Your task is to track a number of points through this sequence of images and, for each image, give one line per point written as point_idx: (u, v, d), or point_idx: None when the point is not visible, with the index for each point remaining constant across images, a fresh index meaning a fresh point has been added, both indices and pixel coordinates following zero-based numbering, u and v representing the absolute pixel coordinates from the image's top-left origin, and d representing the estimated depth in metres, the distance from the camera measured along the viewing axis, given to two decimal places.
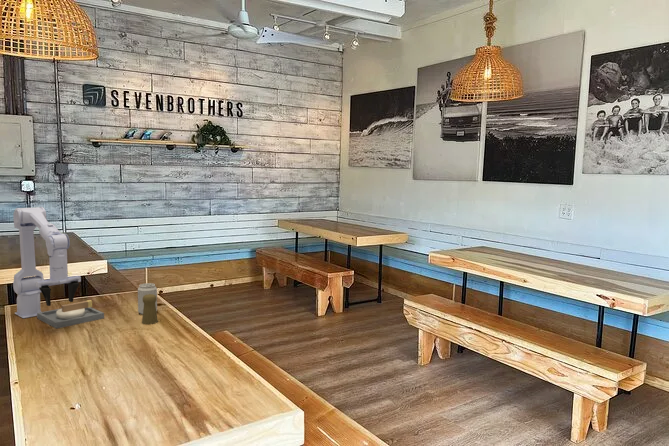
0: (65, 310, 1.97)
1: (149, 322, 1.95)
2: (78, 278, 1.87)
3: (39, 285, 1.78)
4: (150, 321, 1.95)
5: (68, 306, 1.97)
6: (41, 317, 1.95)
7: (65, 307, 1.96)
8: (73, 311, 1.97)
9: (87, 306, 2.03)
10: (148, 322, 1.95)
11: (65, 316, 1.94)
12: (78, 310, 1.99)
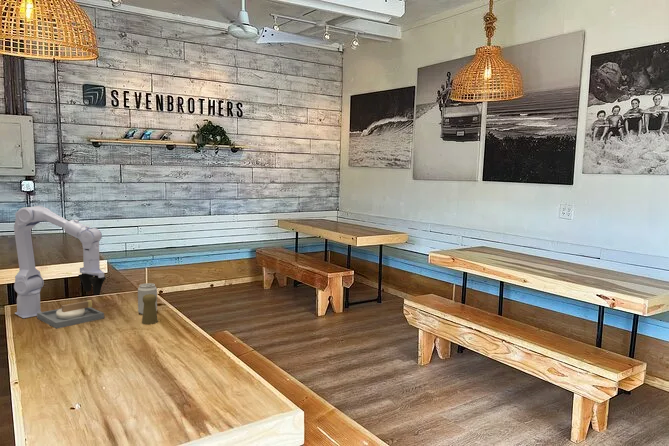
0: (65, 310, 1.97)
1: (149, 322, 1.95)
2: (98, 274, 1.93)
3: (80, 270, 2.01)
4: (150, 321, 1.95)
5: (68, 306, 1.97)
6: (41, 317, 1.95)
7: (65, 307, 1.96)
8: (73, 311, 1.97)
9: (87, 306, 2.03)
10: (148, 322, 1.95)
11: (65, 316, 1.94)
12: (78, 310, 1.99)
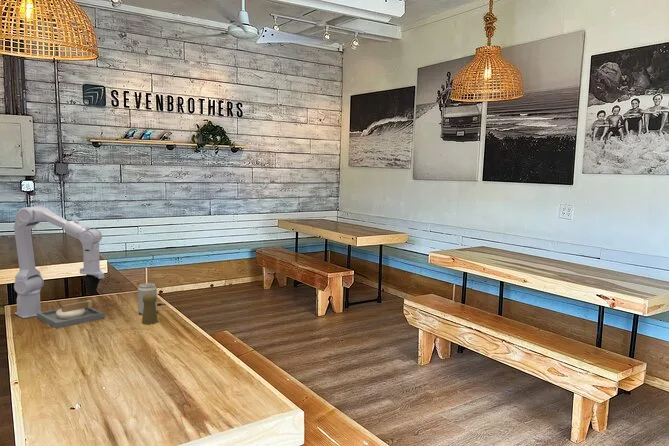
0: (65, 310, 1.97)
1: (149, 322, 1.95)
2: (98, 275, 1.94)
3: (80, 271, 2.01)
4: (150, 321, 1.95)
5: (68, 306, 1.97)
6: (41, 317, 1.95)
7: (65, 307, 1.96)
8: (73, 311, 1.97)
9: (87, 306, 2.03)
10: (148, 322, 1.95)
11: (65, 316, 1.94)
12: (78, 310, 1.99)
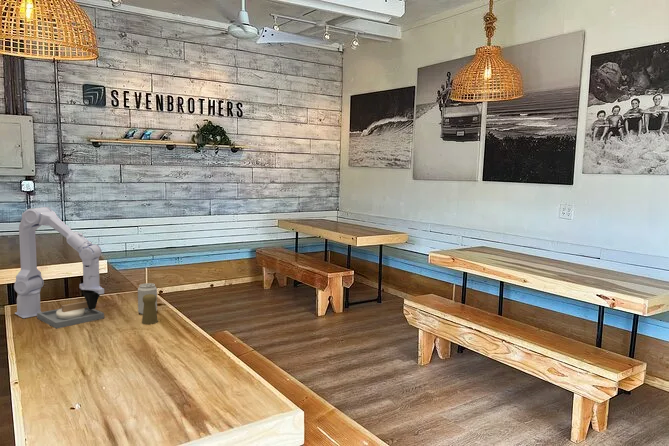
0: (65, 310, 1.97)
1: (149, 322, 1.95)
2: (98, 290, 1.95)
3: (80, 286, 2.02)
4: (150, 321, 1.95)
5: (68, 306, 1.97)
6: (41, 317, 1.95)
7: (65, 307, 1.96)
8: (73, 311, 1.97)
9: (87, 306, 2.03)
10: (148, 322, 1.95)
11: (65, 316, 1.94)
12: (78, 310, 1.99)
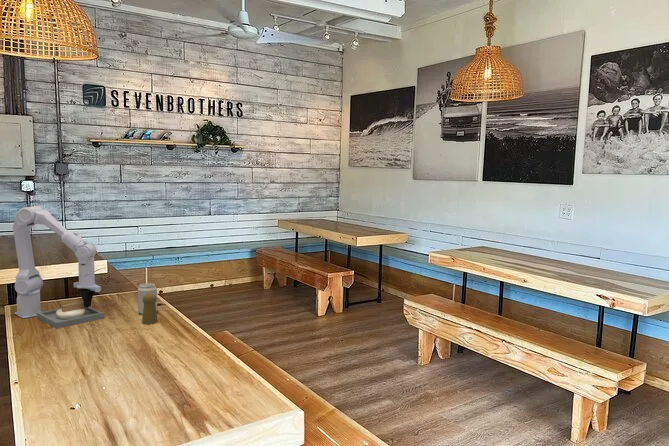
0: (65, 310, 1.97)
1: (149, 322, 1.95)
2: (94, 288, 1.97)
3: (74, 285, 2.04)
4: (150, 321, 1.95)
5: (68, 306, 1.97)
6: (41, 317, 1.95)
7: (65, 307, 1.96)
8: (73, 311, 1.97)
9: None
10: (148, 322, 1.95)
11: (66, 316, 1.94)
12: (78, 310, 1.99)
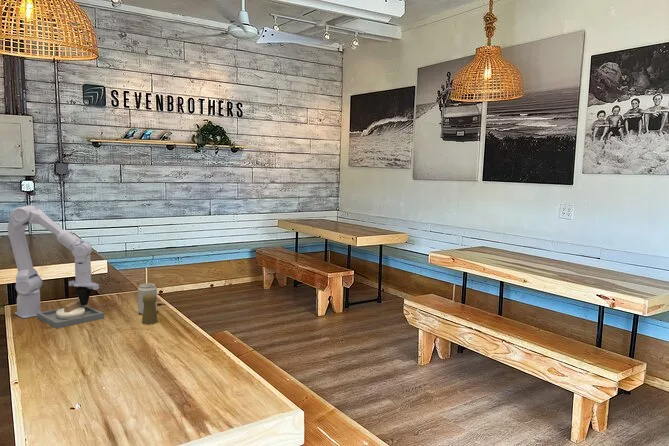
0: (69, 310, 1.97)
1: (149, 322, 1.95)
2: (93, 286, 2.00)
3: (69, 284, 2.05)
4: (150, 321, 1.95)
5: (71, 306, 1.98)
6: (41, 317, 1.95)
7: (69, 307, 1.96)
8: (76, 310, 1.99)
9: None
10: (148, 322, 1.95)
11: (75, 315, 1.96)
12: (79, 309, 2.01)
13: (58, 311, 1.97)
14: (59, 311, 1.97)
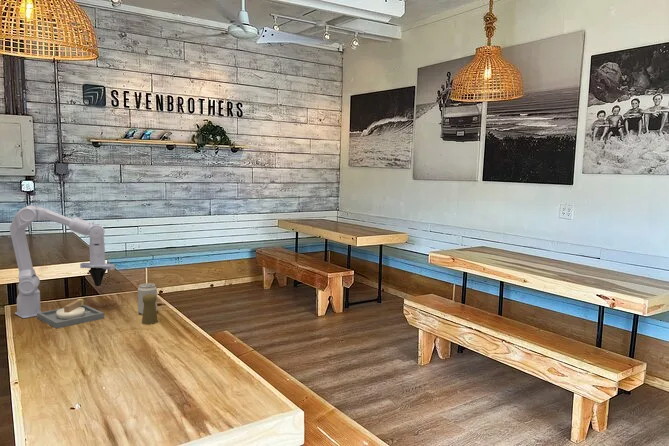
0: (69, 310, 1.97)
1: (149, 322, 1.95)
2: (110, 266, 2.08)
3: (81, 266, 2.10)
4: (150, 321, 1.95)
5: (71, 306, 1.98)
6: (41, 317, 1.95)
7: (69, 307, 1.96)
8: (76, 310, 1.99)
9: (81, 304, 2.05)
10: (148, 322, 1.95)
11: (75, 315, 1.96)
12: (79, 309, 2.01)
13: (58, 311, 1.97)
14: (59, 311, 1.97)
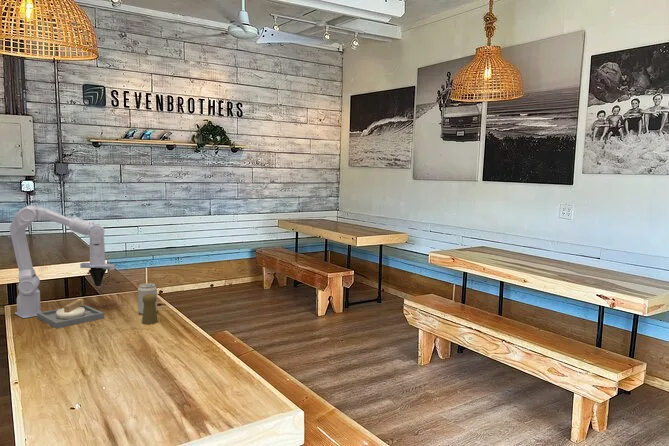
0: (69, 310, 1.97)
1: (149, 322, 1.95)
2: (110, 266, 2.08)
3: (81, 266, 2.10)
4: (150, 321, 1.95)
5: (71, 306, 1.98)
6: (41, 317, 1.95)
7: (69, 307, 1.96)
8: (76, 310, 1.99)
9: (81, 304, 2.05)
10: (148, 322, 1.95)
11: (75, 315, 1.96)
12: (79, 309, 2.01)
13: (58, 311, 1.97)
14: (59, 311, 1.97)
